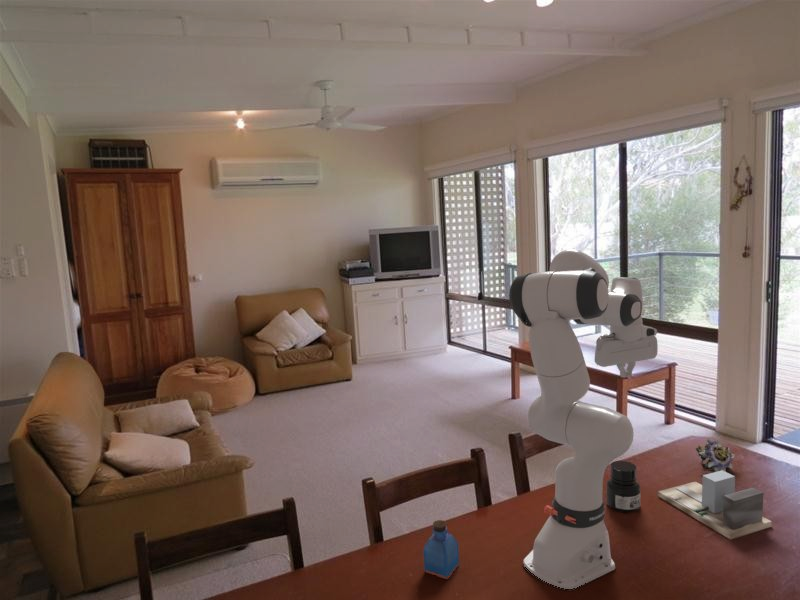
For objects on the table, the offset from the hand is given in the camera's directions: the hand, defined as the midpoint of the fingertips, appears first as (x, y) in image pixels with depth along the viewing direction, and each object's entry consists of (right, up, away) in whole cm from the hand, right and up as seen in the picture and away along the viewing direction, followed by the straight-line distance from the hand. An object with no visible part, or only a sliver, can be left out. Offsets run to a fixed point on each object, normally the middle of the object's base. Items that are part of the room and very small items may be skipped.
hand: (626, 376), depth 166 cm
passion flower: (+33, -31, +12) cm, 47 cm away
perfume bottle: (-57, -43, -30) cm, 78 cm away
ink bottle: (-4, -36, -7) cm, 37 cm away
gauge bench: (+19, -35, -12) cm, 42 cm away
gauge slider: (+18, -34, -16) cm, 41 cm away
